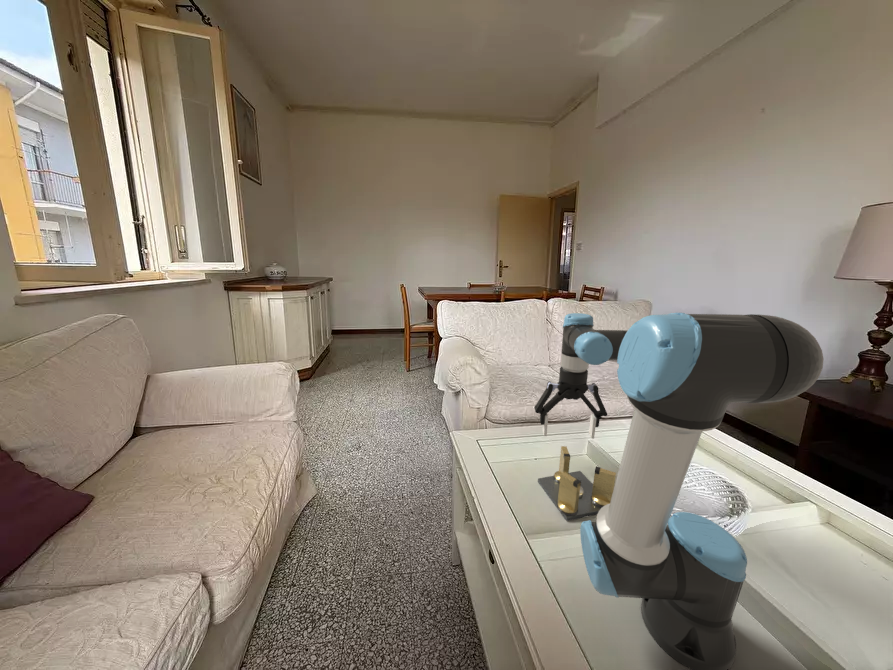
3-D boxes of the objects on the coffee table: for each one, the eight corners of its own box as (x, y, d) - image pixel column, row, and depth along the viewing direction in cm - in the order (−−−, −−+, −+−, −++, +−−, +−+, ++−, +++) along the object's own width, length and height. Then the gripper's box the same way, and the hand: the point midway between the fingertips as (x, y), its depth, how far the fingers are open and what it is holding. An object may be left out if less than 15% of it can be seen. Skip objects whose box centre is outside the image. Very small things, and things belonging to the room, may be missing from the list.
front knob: (564, 496, 99) (567, 468, 96) (581, 507, 95) (584, 478, 92) (553, 505, 96) (556, 476, 93) (570, 516, 92) (573, 486, 89)
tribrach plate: (616, 510, 96) (617, 502, 95) (564, 521, 92) (564, 514, 92) (580, 471, 112) (581, 465, 111) (534, 480, 108) (534, 473, 107)
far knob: (569, 472, 109) (572, 446, 106) (573, 483, 104) (576, 456, 101) (552, 471, 110) (555, 445, 107) (555, 482, 105) (558, 455, 102)
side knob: (610, 508, 94) (614, 479, 92) (590, 501, 97) (594, 473, 94) (612, 496, 99) (616, 468, 96) (593, 490, 101) (596, 462, 99)
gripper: (615, 364, 99) (606, 430, 104) (527, 362, 102) (524, 426, 107) (625, 374, 92) (616, 444, 97) (530, 371, 94) (526, 439, 100)
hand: (567, 435), depth 102 cm, fingers open, 13 cm apart
